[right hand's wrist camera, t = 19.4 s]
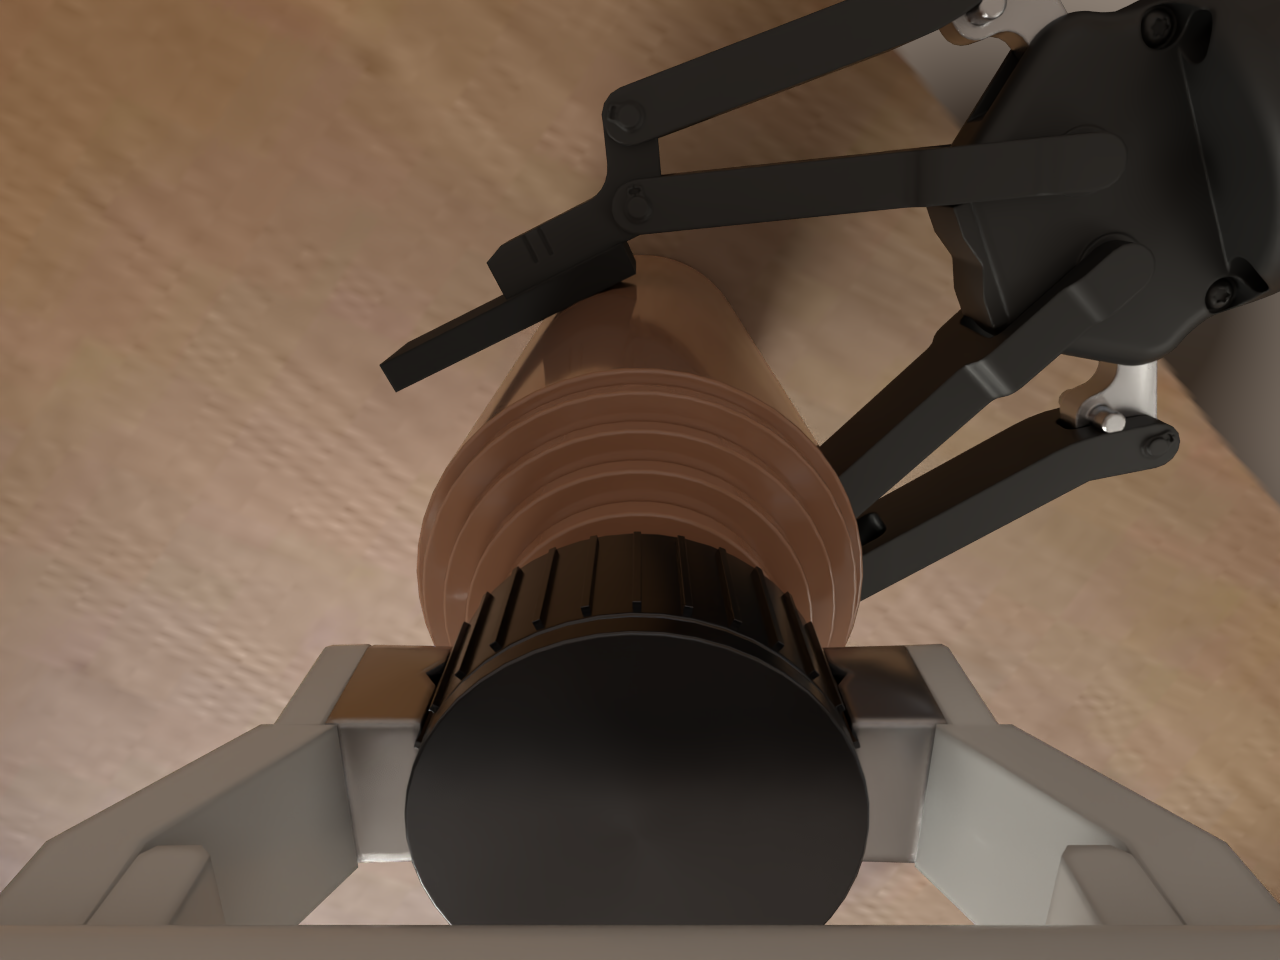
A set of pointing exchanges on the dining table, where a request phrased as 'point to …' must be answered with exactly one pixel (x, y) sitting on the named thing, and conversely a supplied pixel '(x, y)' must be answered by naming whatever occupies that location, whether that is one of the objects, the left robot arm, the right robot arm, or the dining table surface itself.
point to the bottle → (642, 456)
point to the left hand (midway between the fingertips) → (476, 489)
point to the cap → (637, 749)
